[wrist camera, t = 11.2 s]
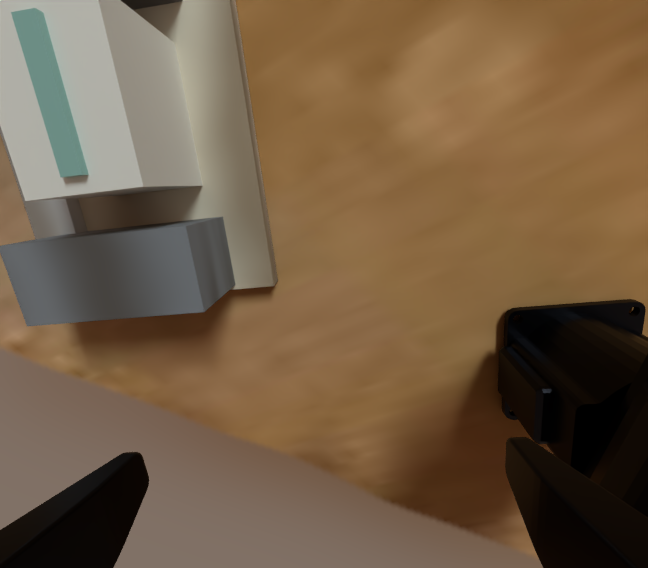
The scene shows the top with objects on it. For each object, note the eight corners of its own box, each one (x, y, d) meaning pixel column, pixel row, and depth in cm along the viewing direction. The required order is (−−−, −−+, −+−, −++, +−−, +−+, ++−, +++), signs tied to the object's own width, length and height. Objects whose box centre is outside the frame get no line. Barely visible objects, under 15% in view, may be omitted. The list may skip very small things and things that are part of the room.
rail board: (220, -102, 14) (154, -243, 10) (277, 280, 19) (252, 313, 14) (-37, -49, 16) (-207, -150, 11) (74, 298, 20) (-12, 334, 15)
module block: (174, 43, 15) (85, -28, 10) (203, 185, 17) (138, 186, 12) (79, 58, 16) (-52, -1, 11) (115, 196, 17) (17, 201, 12)
